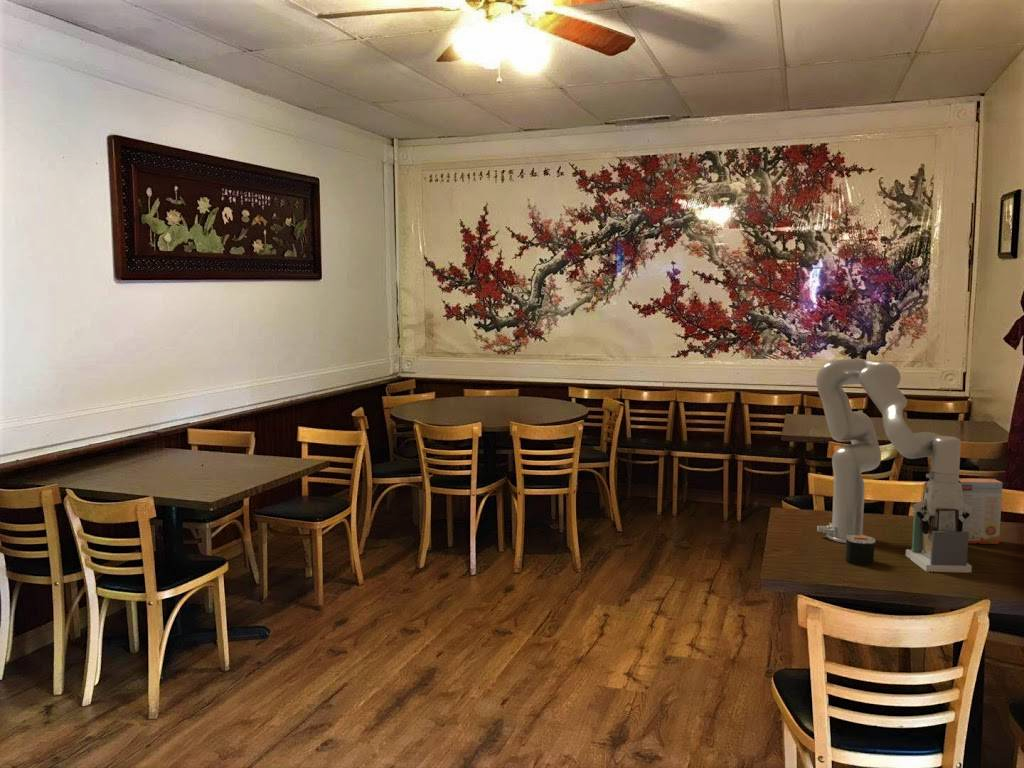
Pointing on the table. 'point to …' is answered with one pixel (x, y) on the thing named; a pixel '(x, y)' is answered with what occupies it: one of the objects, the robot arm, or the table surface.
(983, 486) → the cracker box
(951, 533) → the shelf
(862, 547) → the sushi
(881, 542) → the table surface
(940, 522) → the coffee box
